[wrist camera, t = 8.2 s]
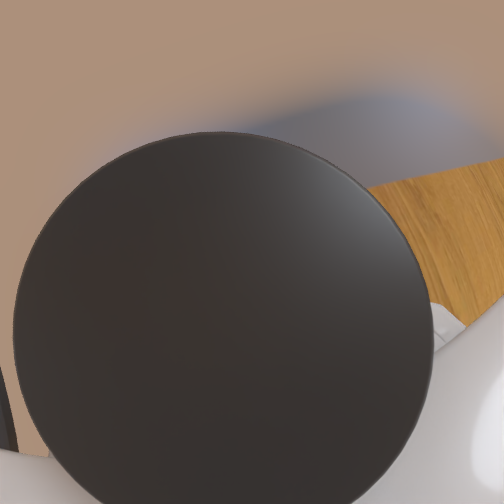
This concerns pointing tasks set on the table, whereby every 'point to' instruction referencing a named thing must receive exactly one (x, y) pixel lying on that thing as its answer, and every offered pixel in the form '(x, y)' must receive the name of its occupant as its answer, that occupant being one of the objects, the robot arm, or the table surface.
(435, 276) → the table surface
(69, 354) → the bottle
